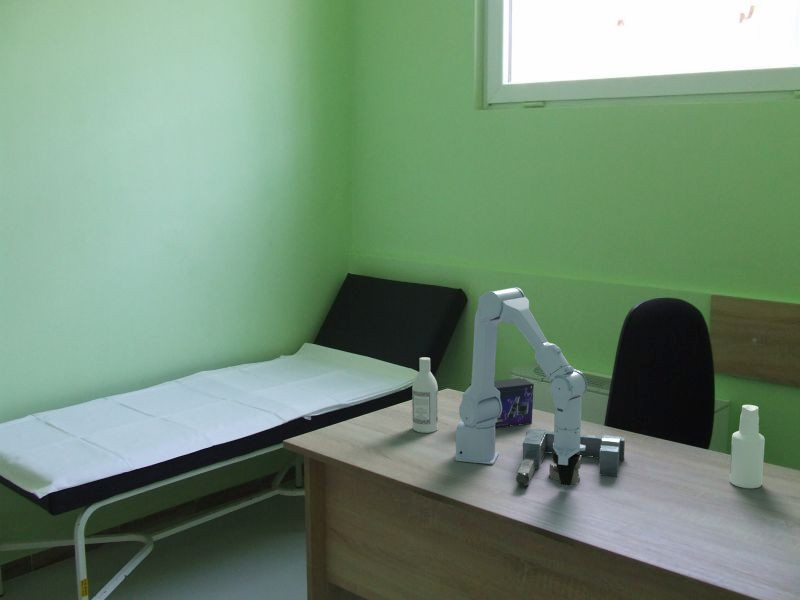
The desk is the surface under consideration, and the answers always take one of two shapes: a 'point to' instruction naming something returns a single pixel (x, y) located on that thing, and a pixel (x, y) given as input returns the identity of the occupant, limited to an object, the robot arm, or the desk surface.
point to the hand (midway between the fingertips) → (565, 484)
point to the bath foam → (425, 399)
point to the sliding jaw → (531, 455)
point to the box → (515, 401)
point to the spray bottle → (747, 450)
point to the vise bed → (597, 450)
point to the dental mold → (554, 473)
